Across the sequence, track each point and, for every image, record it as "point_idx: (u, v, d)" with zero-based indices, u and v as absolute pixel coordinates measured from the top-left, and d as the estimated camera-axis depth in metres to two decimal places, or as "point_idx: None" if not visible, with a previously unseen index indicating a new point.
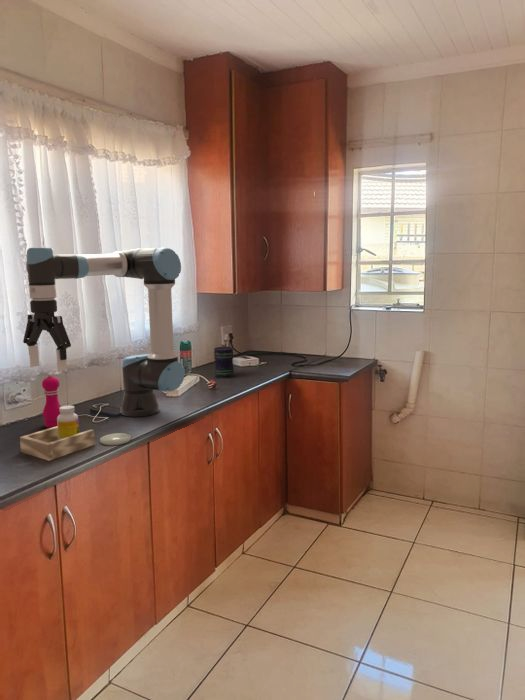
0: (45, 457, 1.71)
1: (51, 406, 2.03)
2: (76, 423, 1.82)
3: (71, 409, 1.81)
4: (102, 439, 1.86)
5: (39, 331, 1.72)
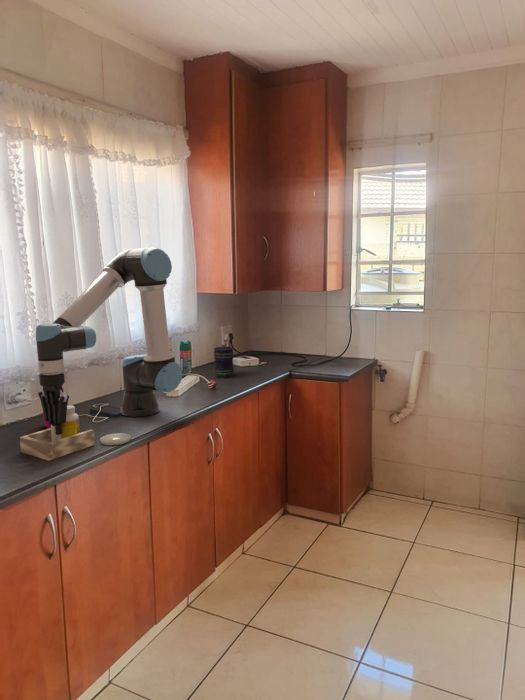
0: (45, 457, 1.71)
1: None
2: (76, 423, 1.82)
3: (71, 409, 1.81)
4: (102, 439, 1.86)
5: None
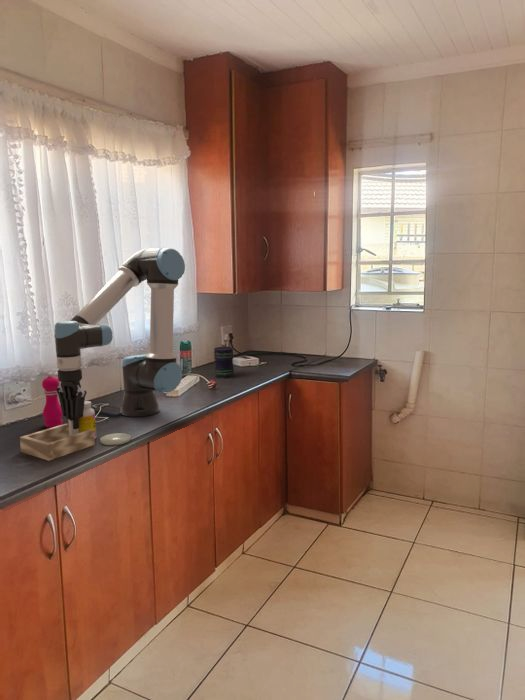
0: (45, 457, 1.71)
1: (51, 406, 2.03)
2: (93, 418, 1.88)
3: (88, 404, 1.87)
4: (102, 439, 1.86)
5: None
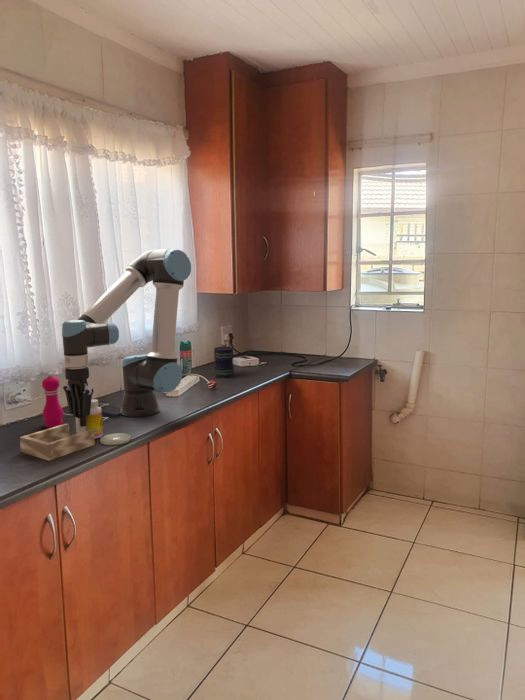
0: (45, 457, 1.71)
1: (51, 406, 2.03)
2: (100, 416, 1.90)
3: (95, 402, 1.89)
4: (102, 439, 1.86)
5: None
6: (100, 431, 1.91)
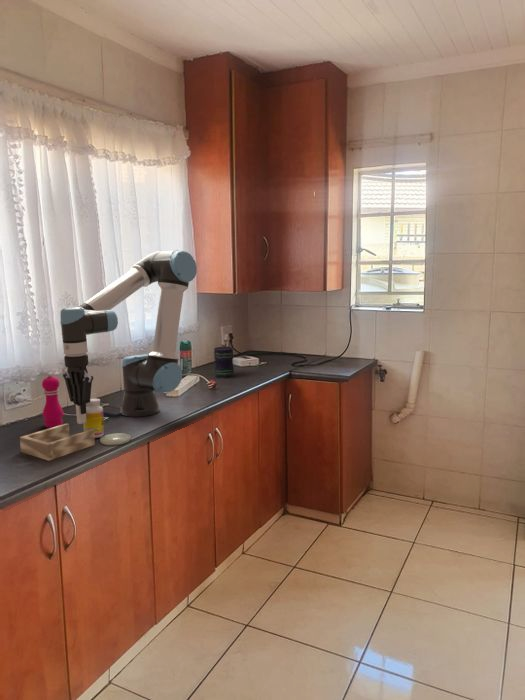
0: (45, 457, 1.71)
1: (51, 406, 2.03)
2: (101, 415, 1.91)
3: (97, 401, 1.90)
4: (102, 439, 1.86)
5: None
6: (101, 430, 1.91)
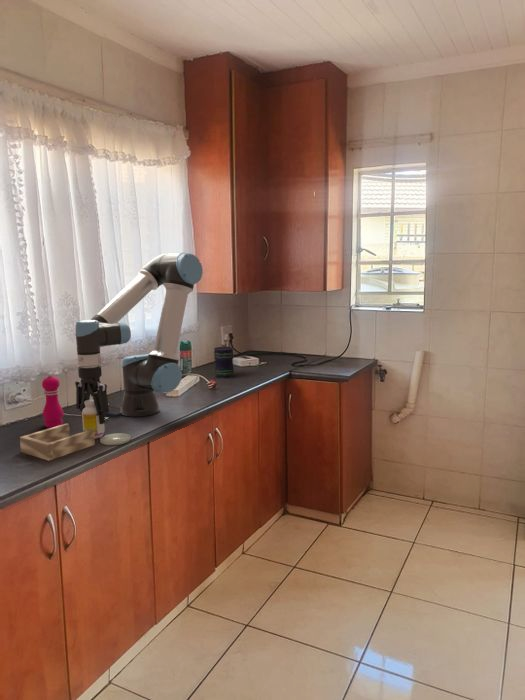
0: (45, 457, 1.71)
1: (51, 406, 2.03)
2: None
3: None
4: (102, 439, 1.86)
5: (88, 395, 1.92)
6: None
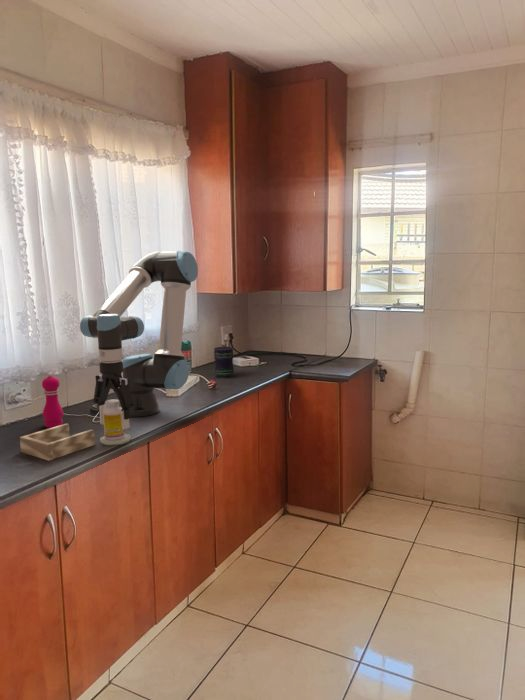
0: (45, 457, 1.71)
1: (51, 406, 2.03)
2: None
3: (116, 403, 1.84)
4: (102, 439, 1.86)
5: (107, 390, 1.87)
6: (122, 432, 1.86)
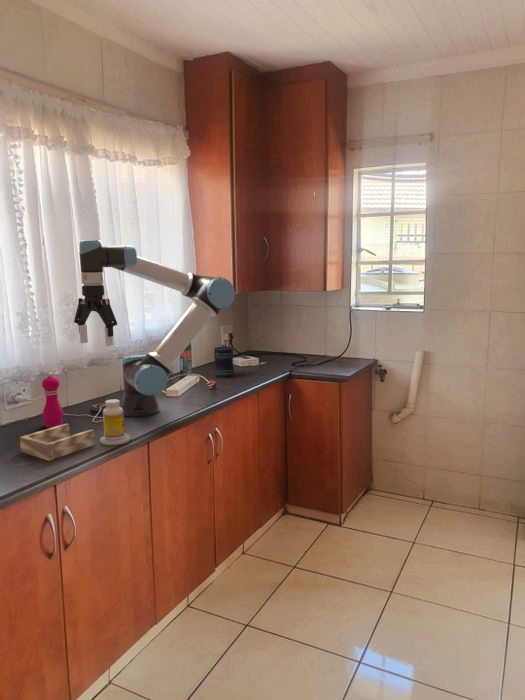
0: (45, 457, 1.71)
1: (51, 406, 2.03)
2: (121, 416, 1.86)
3: (117, 403, 1.84)
4: (102, 439, 1.86)
5: (88, 312, 1.99)
6: (122, 432, 1.86)
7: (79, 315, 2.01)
